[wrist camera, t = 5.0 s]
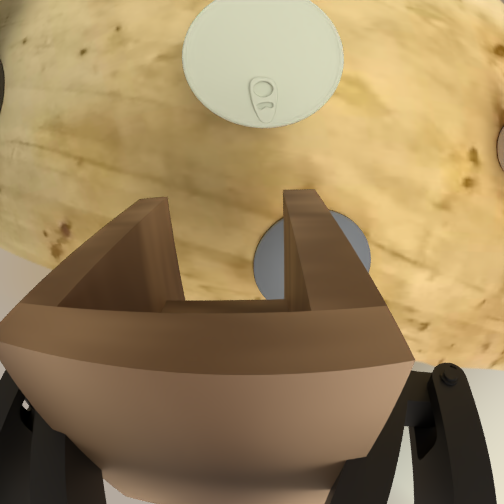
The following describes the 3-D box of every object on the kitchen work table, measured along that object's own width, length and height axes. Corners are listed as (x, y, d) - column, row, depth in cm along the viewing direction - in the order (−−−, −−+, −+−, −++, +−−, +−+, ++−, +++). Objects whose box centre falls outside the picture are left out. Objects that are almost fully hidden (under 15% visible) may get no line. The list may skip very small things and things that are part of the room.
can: (215, 127, 26) (183, 136, 15) (209, 37, 22) (176, -9, 11) (313, 123, 25) (350, 130, 15) (308, 33, 21) (339, -14, 11)
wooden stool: (173, 345, 17) (125, 496, 8) (140, 199, 13) (-14, 337, 4) (307, 344, 16) (327, 510, 7) (314, 189, 13) (415, 359, 4)
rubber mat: (233, 286, 33) (233, 289, 33) (292, 185, 28) (293, 187, 28) (326, 326, 36) (327, 329, 35) (390, 243, 31) (392, 246, 30)
